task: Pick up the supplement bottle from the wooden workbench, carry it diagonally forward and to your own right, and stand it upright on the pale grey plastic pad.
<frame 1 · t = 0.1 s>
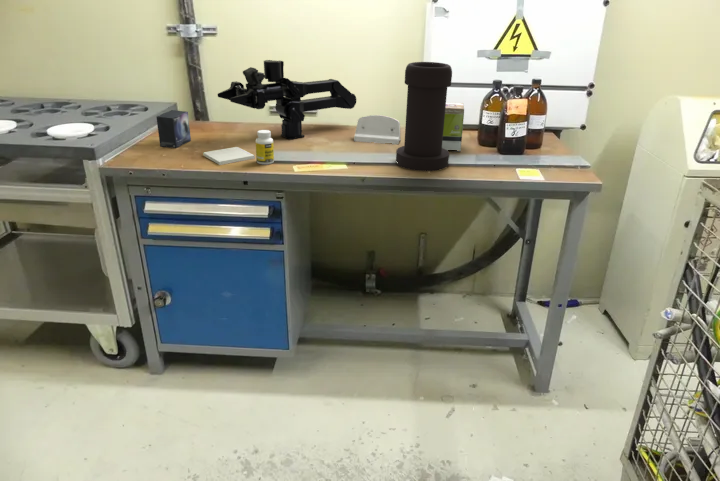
hand: (224, 97, 173), 17 cm above the table, tool horizontal, fingers open, 9 cm apart
supplement bottle: (265, 162, 167), on the table
tea box: (438, 147, 187), on the table
small box: (176, 144, 183), on the table
pipe: (421, 163, 169), on the table
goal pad: (229, 156, 171), on the table
grey rounded upright plate: (377, 141, 193), on the table
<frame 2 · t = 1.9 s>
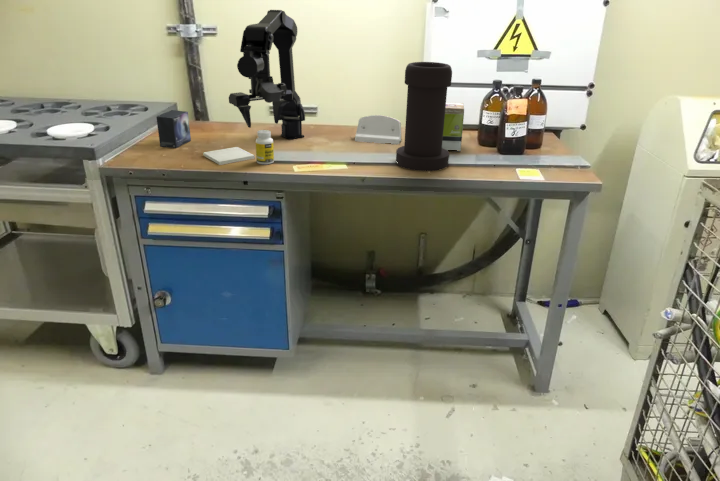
hand: (263, 125, 162), 11 cm above the table, tool pointing down, fingers open, 9 cm apart
nothing on the table moved.
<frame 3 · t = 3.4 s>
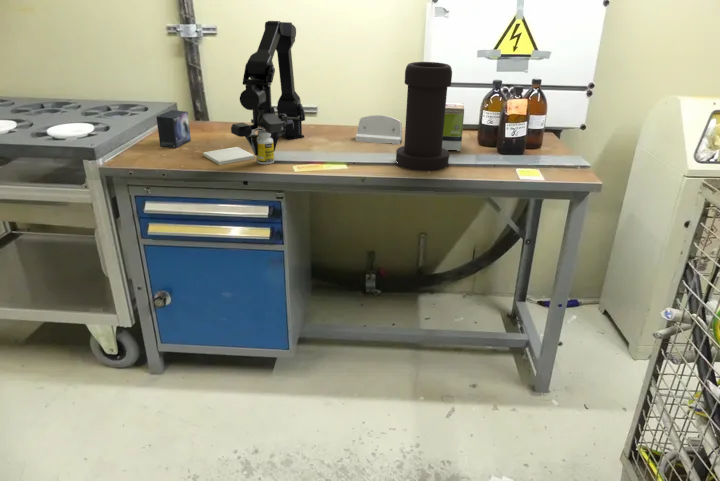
hand: (264, 154, 166), 3 cm above the table, tool pointing down, fingers closed on supplement bottle, 5 cm apart
supplement bottle: (265, 162, 167), on the table, touching gripper
everything else where it was.
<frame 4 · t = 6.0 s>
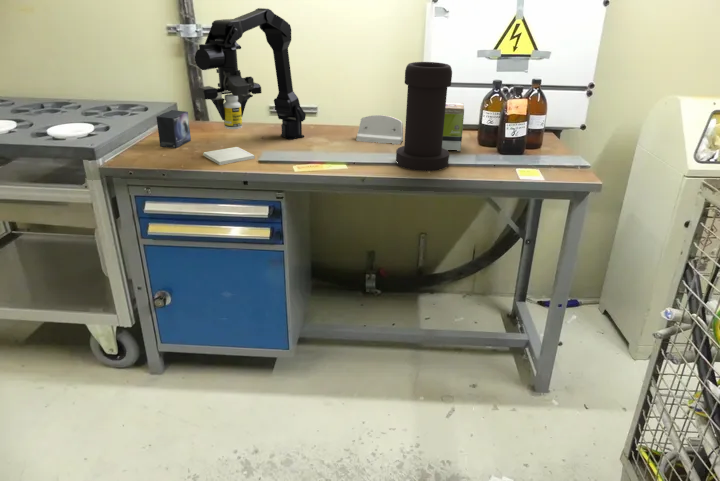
hand: (232, 118, 164), 12 cm above the table, tool pointing down, fingers closed on supplement bottle, 5 cm apart
supplement bottle: (233, 128, 165), point 10 cm above the table, touching gripper
everything else where it was.
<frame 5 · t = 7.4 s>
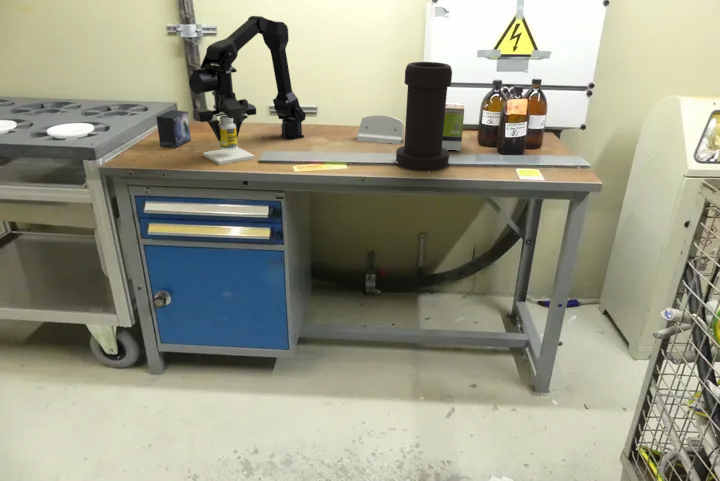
hand: (227, 139, 168), 6 cm above the table, tool pointing down, fingers closed on supplement bottle, 5 cm apart
supplement bottle: (229, 148, 169), point 3 cm above the table, touching gripper
when the fingers open (5 cm above the table, at t = 8.4 s): supplement bottle drops 1 cm, resting on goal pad.
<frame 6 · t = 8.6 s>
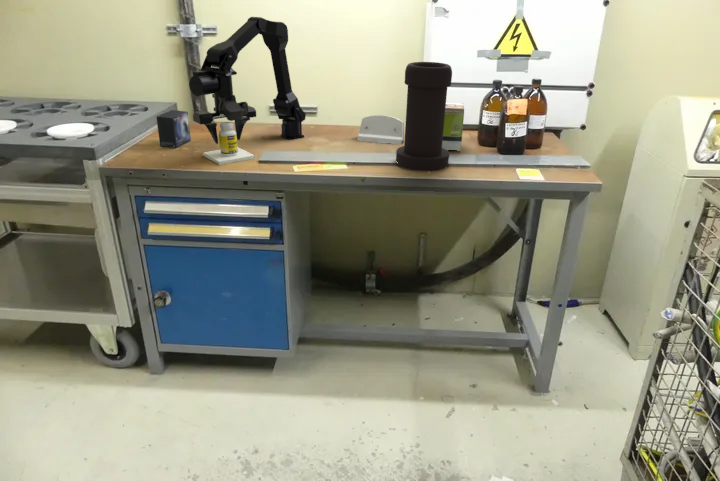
hand: (227, 141, 169), 5 cm above the table, tool pointing down, fingers open, 7 cm apart
supplement bottle: (229, 154, 170), point 1 cm above the table, touching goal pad
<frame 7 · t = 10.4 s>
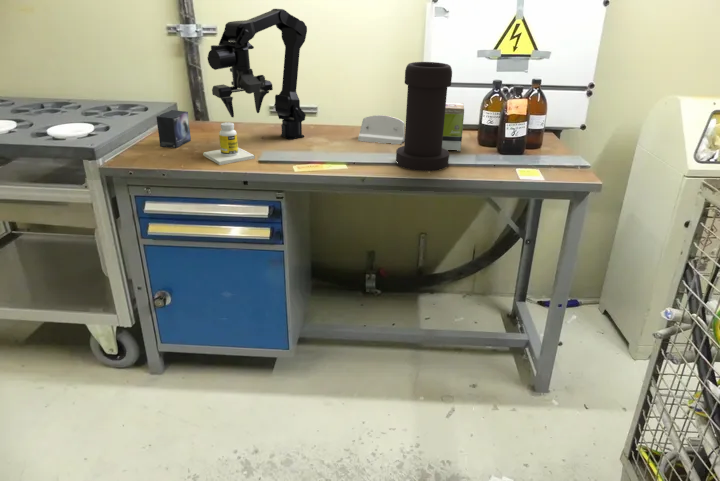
hand: (245, 115, 174), 11 cm above the table, tool pointing down, fingers open, 9 cm apart
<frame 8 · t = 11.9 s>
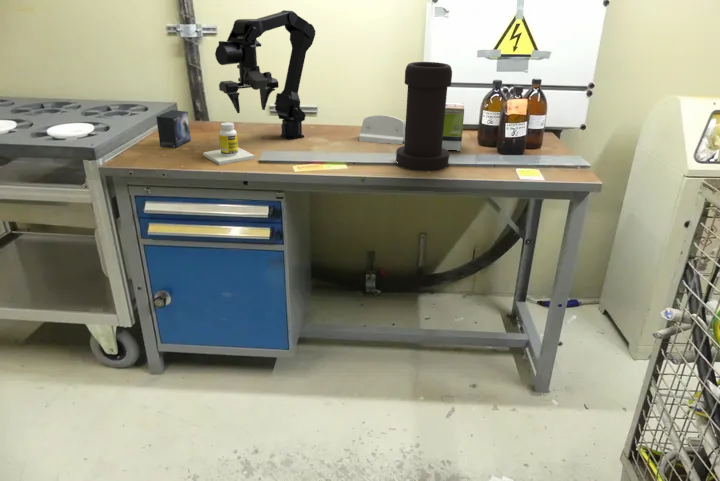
hand: (251, 111, 176), 12 cm above the table, tool pointing down, fingers open, 9 cm apart
at the end: supplement bottle 0.4 cm off-centre on the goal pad, point 0.8 cm above the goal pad's base; supplement bottle tilted 0°; the gripper is holding nothing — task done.
